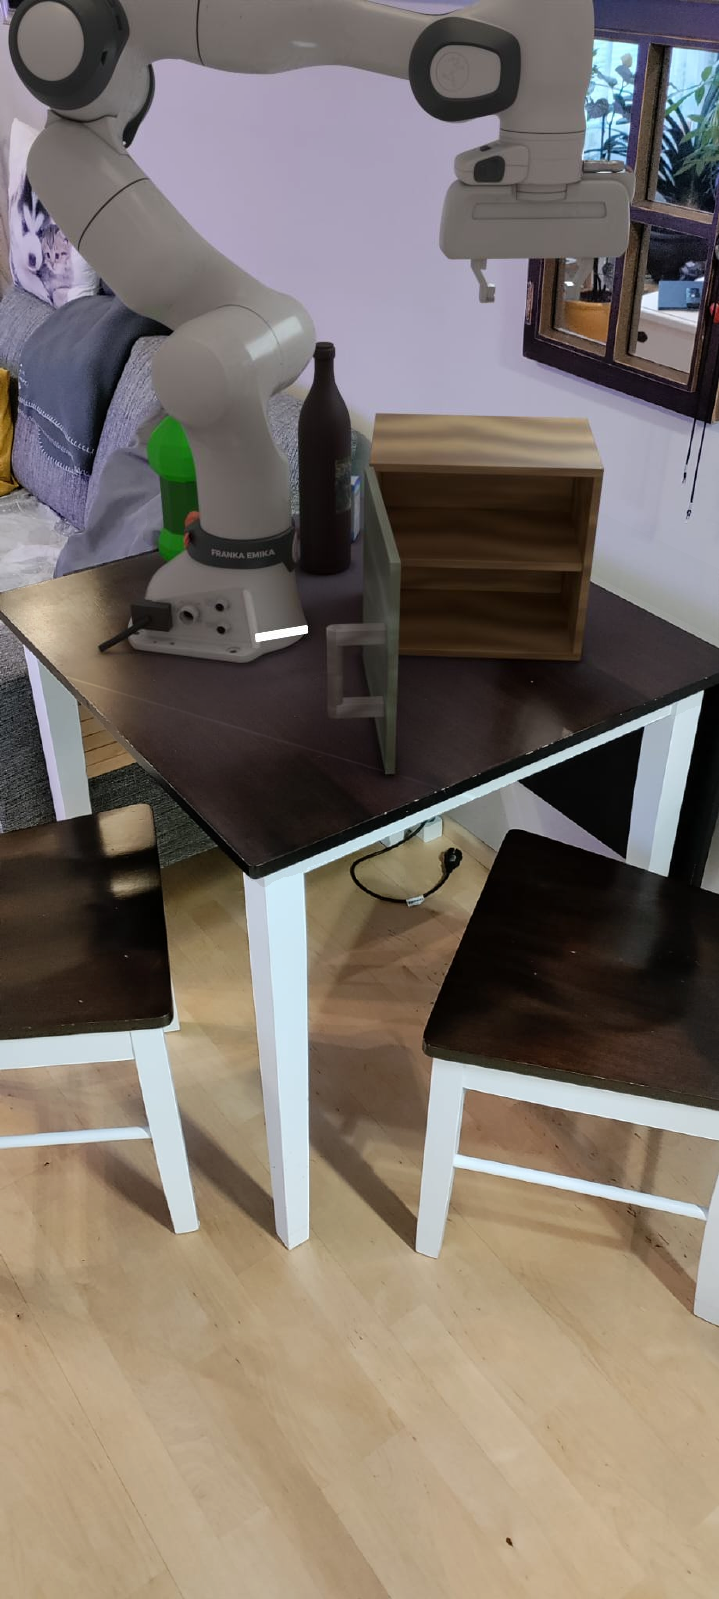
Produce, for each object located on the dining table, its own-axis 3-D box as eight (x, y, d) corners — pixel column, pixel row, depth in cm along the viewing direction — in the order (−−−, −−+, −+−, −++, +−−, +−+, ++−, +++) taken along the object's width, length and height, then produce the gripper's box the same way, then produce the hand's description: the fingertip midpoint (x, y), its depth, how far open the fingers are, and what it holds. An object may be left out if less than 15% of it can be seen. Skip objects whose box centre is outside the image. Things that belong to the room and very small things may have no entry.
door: (330, 776, 126) (328, 564, 113) (314, 658, 148) (312, 467, 134) (394, 774, 127) (401, 562, 113) (370, 656, 148) (373, 466, 135)
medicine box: (301, 538, 178) (300, 481, 173) (307, 527, 182) (306, 470, 177) (354, 542, 177) (355, 484, 172) (359, 530, 181) (360, 474, 176)
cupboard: (580, 661, 148) (604, 468, 134) (366, 654, 149) (369, 462, 135) (567, 597, 163) (587, 417, 149) (373, 591, 164) (375, 412, 150)
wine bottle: (340, 579, 167) (340, 354, 149) (292, 571, 169) (287, 348, 151) (357, 559, 172) (359, 340, 155) (311, 552, 174) (308, 334, 157)
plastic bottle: (154, 583, 165) (137, 397, 151) (164, 552, 174) (149, 373, 159) (228, 584, 165) (218, 398, 151) (234, 552, 174) (225, 374, 159)
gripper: (629, 155, 129) (613, 293, 137) (439, 156, 128) (434, 295, 136) (646, 163, 124) (628, 306, 132) (448, 165, 123) (442, 309, 131)
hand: (528, 301), depth 134 cm, fingers open, 8 cm apart
